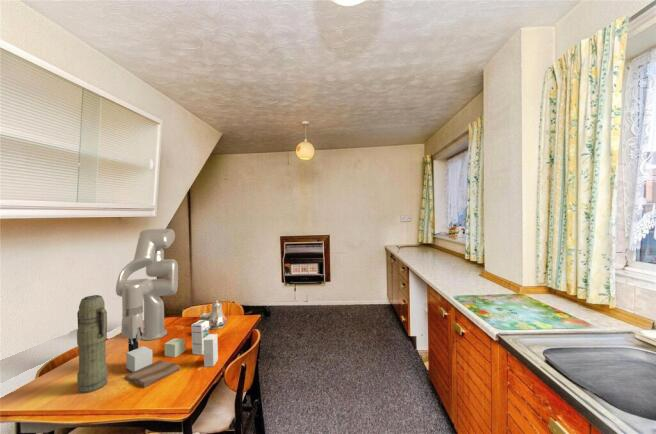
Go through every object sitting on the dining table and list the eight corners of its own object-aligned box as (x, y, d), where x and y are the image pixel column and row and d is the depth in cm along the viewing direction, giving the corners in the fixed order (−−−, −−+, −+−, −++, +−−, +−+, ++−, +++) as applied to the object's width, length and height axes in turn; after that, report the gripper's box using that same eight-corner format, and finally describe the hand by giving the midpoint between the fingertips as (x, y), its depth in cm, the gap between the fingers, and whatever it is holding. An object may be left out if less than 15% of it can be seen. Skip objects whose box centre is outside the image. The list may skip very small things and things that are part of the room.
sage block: (164, 356, 130) (164, 343, 130) (174, 350, 136) (174, 338, 136) (175, 357, 129) (175, 344, 129) (184, 351, 134) (184, 339, 135)
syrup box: (202, 355, 130) (202, 324, 130) (191, 354, 131) (191, 323, 131) (210, 349, 136) (209, 320, 136) (199, 348, 137) (199, 319, 137)
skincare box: (208, 360, 125) (208, 334, 125) (218, 359, 125) (217, 333, 126) (203, 367, 119) (203, 339, 119) (213, 366, 119) (213, 339, 120)
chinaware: (198, 324, 174) (194, 298, 174) (225, 317, 181) (222, 292, 181) (197, 341, 149) (192, 311, 148) (229, 332, 156) (225, 304, 155)
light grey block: (126, 368, 119) (126, 352, 119) (143, 361, 125) (144, 346, 125) (134, 373, 115) (135, 357, 115) (152, 365, 121) (152, 350, 121)
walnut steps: (125, 377, 112) (125, 373, 112) (160, 362, 124) (160, 357, 124) (144, 387, 105) (144, 382, 105) (179, 370, 117) (179, 365, 117)
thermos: (88, 379, 111) (87, 293, 112) (116, 379, 111) (115, 293, 111) (67, 393, 103) (66, 300, 103) (97, 393, 102) (96, 299, 102)
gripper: (115, 310, 123) (115, 351, 123) (131, 316, 115) (132, 359, 115) (133, 306, 129) (134, 344, 129) (150, 310, 122) (151, 351, 122)
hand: (133, 351), depth 122 cm, fingers closed
